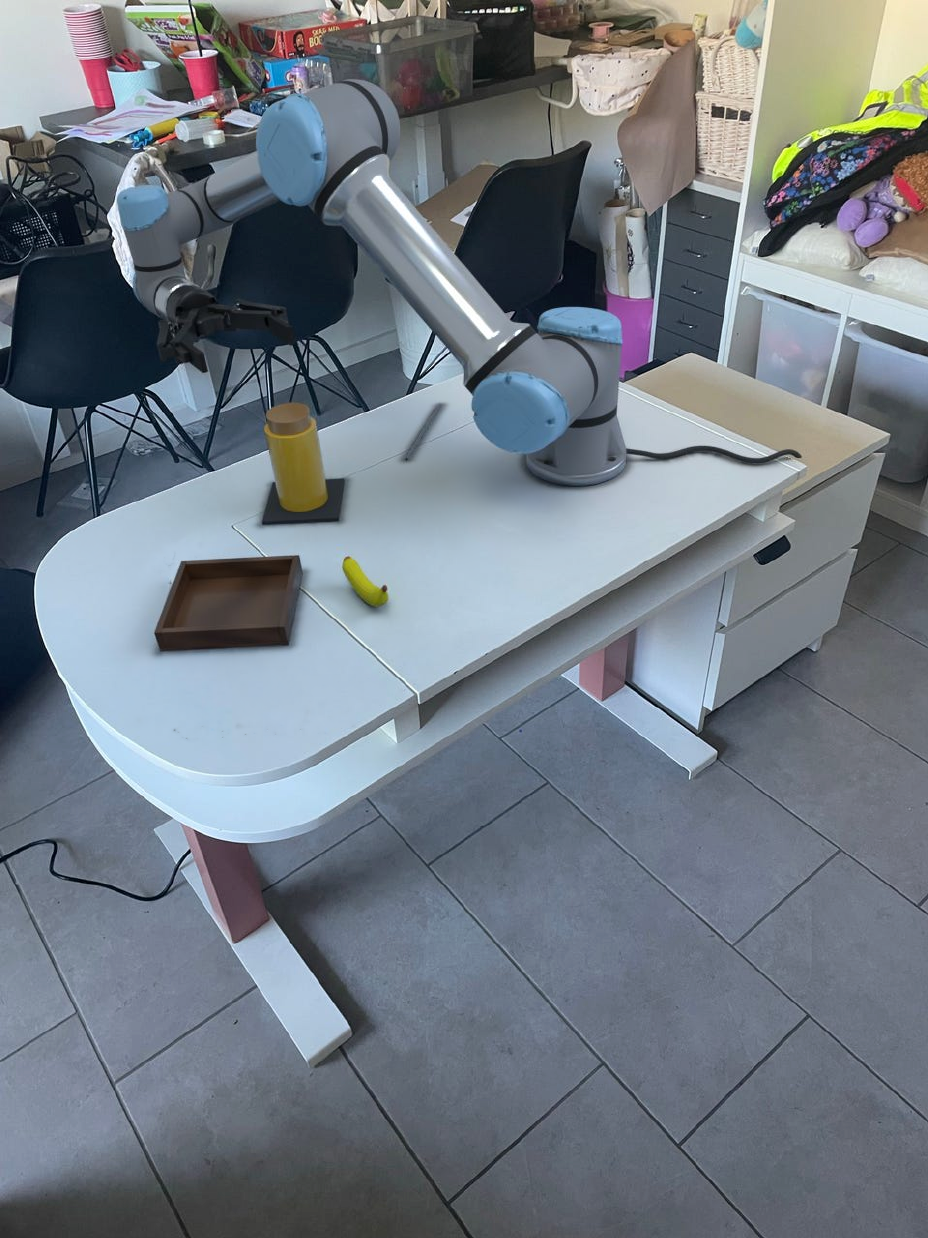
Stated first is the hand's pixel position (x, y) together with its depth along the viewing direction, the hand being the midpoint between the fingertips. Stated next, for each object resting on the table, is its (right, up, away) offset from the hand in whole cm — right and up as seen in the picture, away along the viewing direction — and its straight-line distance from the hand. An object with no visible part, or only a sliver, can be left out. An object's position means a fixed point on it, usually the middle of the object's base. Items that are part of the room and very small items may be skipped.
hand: (248, 349), depth 127 cm
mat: (+7, -21, +7) cm, 23 cm away
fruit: (+18, -35, -12) cm, 42 cm away
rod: (+24, -7, +23) cm, 34 cm away
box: (+1, -37, -12) cm, 39 cm away
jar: (+7, -20, +7) cm, 22 cm away
